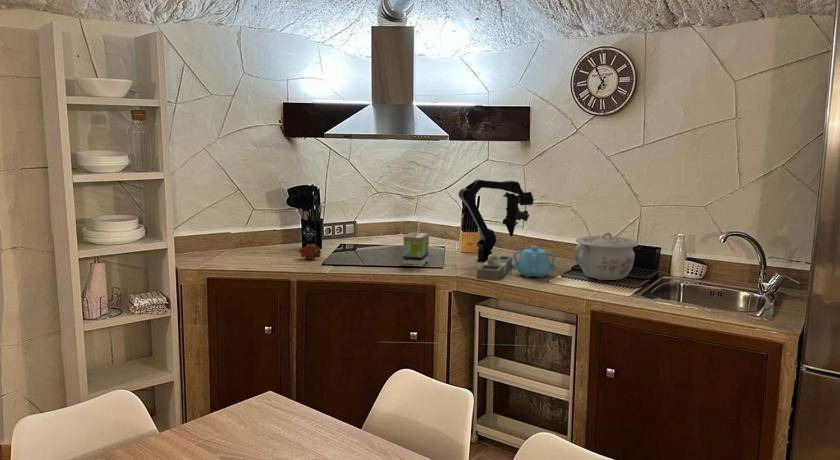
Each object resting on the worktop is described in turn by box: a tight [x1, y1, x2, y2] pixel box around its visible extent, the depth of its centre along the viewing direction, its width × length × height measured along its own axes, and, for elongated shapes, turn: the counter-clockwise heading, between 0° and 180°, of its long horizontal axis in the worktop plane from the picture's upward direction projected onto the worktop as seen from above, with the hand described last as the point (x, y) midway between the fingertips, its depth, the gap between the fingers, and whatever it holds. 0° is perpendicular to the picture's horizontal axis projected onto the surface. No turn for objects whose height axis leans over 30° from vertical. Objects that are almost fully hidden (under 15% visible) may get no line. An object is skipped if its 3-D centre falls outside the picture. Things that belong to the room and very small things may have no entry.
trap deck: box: [476, 255, 513, 281], centre depth 313 cm, size 10×34×4 cm, turn 162°
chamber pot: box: [573, 232, 639, 280], centre depth 300 cm, size 28×28×21 cm
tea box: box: [402, 232, 430, 265], centre depth 326 cm, size 15×10×15 cm
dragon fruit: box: [298, 243, 322, 260], centre depth 336 cm, size 8×8×12 cm
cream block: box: [488, 253, 502, 265], centre depth 309 cm, size 5×5×4 cm
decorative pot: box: [511, 245, 556, 279], centre depth 304 cm, size 16×16×14 cm
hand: (511, 236), depth 339 cm, fingers closed
